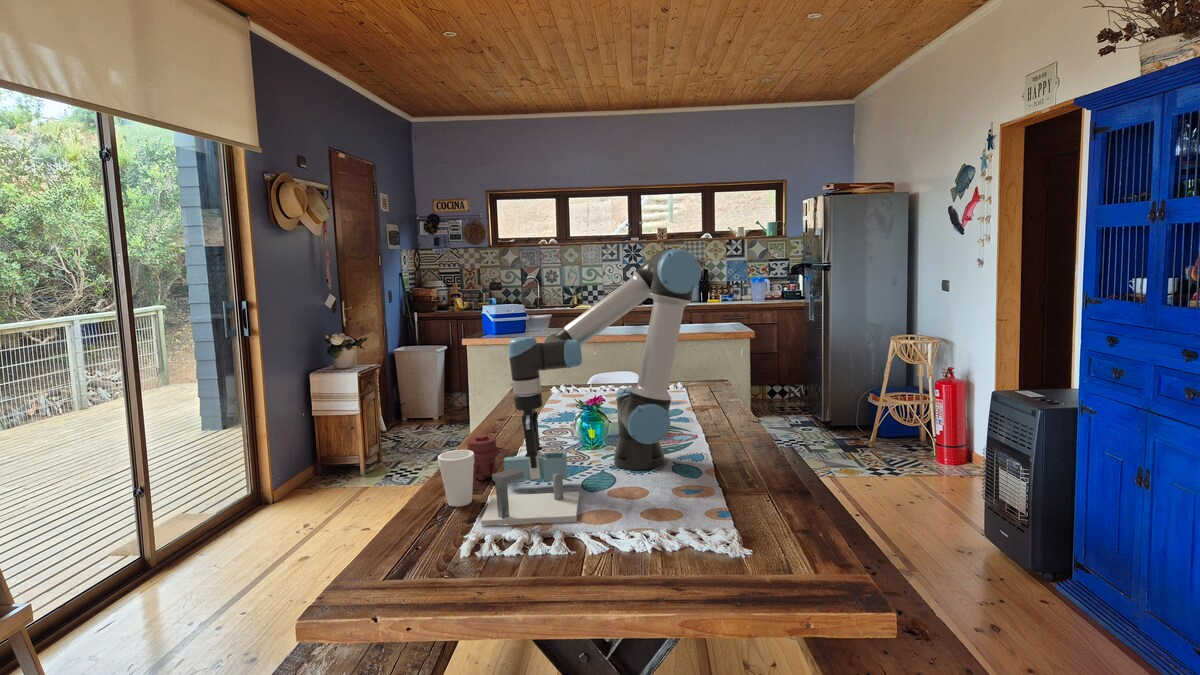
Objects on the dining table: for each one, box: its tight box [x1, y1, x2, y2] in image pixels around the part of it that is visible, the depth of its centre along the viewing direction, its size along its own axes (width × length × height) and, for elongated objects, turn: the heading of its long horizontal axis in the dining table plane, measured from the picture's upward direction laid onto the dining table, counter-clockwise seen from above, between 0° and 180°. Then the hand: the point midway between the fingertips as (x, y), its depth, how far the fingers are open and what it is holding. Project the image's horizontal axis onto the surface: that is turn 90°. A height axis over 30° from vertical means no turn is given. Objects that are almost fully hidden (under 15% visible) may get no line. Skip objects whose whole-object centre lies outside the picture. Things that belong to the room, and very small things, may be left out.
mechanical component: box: [466, 433, 500, 481], centre depth 213 cm, size 12×10×10 cm
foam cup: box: [437, 449, 474, 507], centre depth 193 cm, size 10×9×13 cm
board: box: [480, 473, 580, 526], centre depth 183 cm, size 23×17×8 cm
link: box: [503, 451, 569, 482], centre depth 201 cm, size 17×6×6 cm, turn 89°
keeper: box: [491, 468, 524, 519], centre depth 178 cm, size 6×4×12 cm
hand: (536, 476), depth 201 cm, fingers closed on link, 3 cm apart
